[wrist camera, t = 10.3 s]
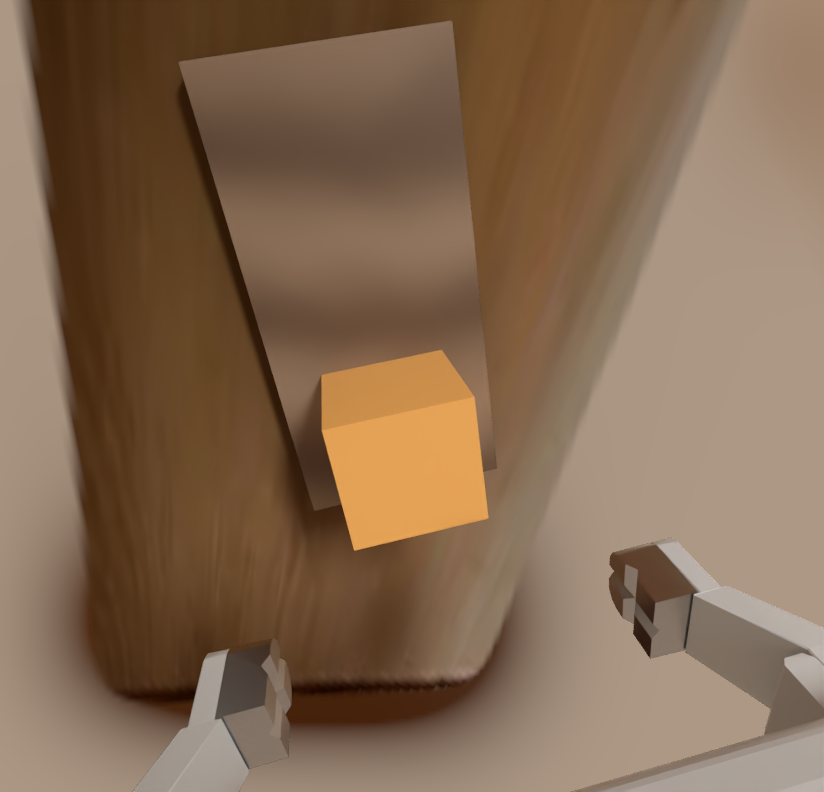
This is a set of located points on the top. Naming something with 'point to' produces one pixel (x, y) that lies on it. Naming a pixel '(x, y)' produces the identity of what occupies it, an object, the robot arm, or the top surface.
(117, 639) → the top surface
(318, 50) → the peg board
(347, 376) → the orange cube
